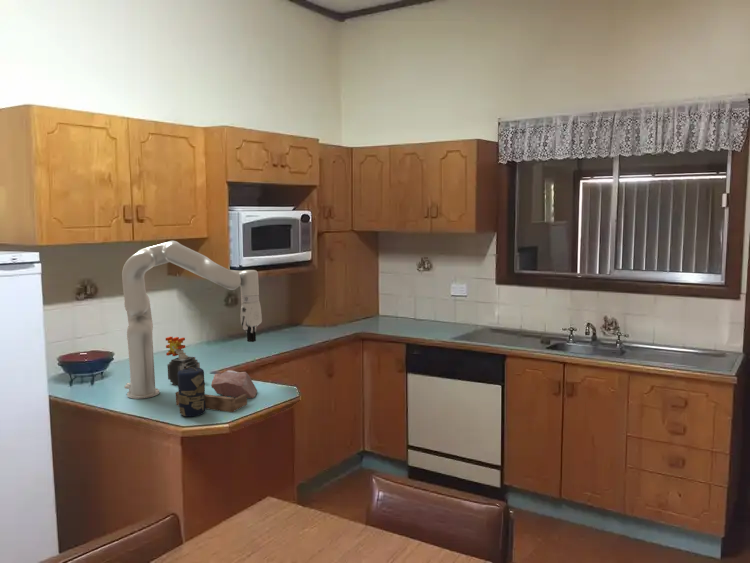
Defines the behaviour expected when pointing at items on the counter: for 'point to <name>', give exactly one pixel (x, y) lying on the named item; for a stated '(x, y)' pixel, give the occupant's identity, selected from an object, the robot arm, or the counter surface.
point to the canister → (191, 391)
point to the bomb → (178, 359)
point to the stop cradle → (222, 402)
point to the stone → (234, 384)
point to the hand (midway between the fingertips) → (251, 341)
